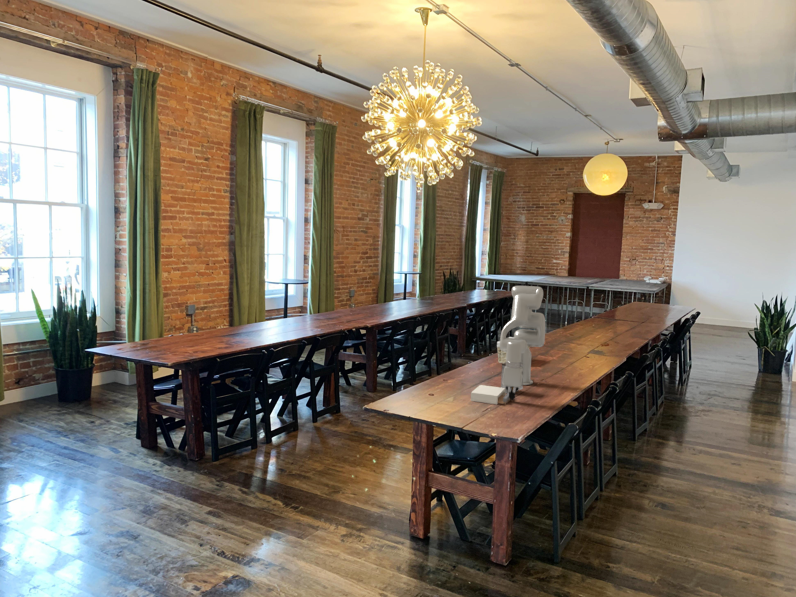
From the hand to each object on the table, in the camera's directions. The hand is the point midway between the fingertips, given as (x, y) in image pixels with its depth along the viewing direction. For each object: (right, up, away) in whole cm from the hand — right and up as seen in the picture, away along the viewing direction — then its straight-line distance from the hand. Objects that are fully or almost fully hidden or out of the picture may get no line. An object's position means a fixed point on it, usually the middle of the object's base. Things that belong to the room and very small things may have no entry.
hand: (511, 399), depth 303 cm
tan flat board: (-9, -1, +4) cm, 10 cm away
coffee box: (+3, +1, +20) cm, 20 cm away
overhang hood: (-12, -1, +5) cm, 13 cm away
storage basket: (+20, +9, +97) cm, 99 cm away
